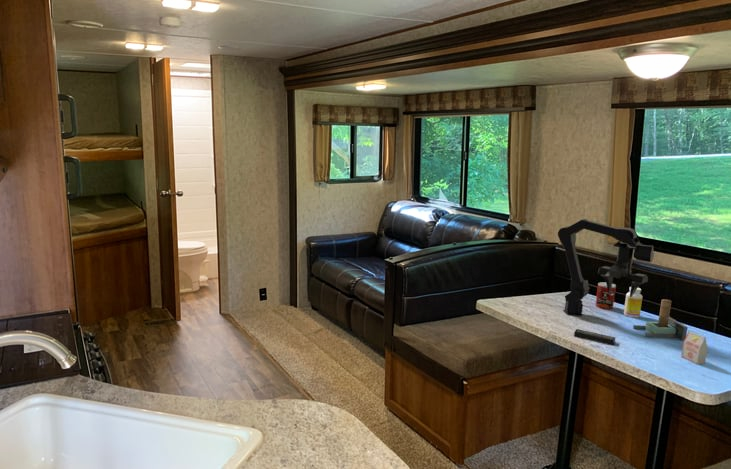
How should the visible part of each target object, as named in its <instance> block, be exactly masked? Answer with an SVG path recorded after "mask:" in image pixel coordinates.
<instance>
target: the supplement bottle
mask: <svg viewBox="0 0 731 469" xmlns="http://www.w3.org/2000/svg"><path fill="white" fill-rule="evenodd" d="M630 291H631V286H629V291H628V292H627V293H626V294H625V301H624V307H623V315H624V316H626V317H628V318H633V319H634V318H635V319H638V318H640V316H641V309H642V302H643V295H642V294H641V292H642V289H641V288H640V287H638V288H637V289H636V291H635V293H634V294H633V296H632V297H630Z"/></svg>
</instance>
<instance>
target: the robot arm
mask: <svg viewBox="0 0 731 469" xmlns="http://www.w3.org/2000/svg"><path fill="white" fill-rule="evenodd" d="M583 230H586V231H590V232H593V233H597V234H598V233H599V234H601V235H606V236H608V237H612V238H613V239H615V240H616V241H617V242H616V243H614V244H613V246H614V247H615V248H618V250H617V251H618V252H617V258H616V260H615V261H614V264H613V265H611V266H606V265H604V266H600V267H599V268H598V272H597V274H598V275H600V277H601V278H603V279H604V281H605V282H606V284H607V288H608V292H610V291H611V288H612V284H613V281H614V278H615V279H621V278H622V277H623V278H626V279H631V282H630V283H631V286H630V287H631V291H629V292H630V297H632V296H633V294H634V293H635V291H636V289H637V288H640V285H642V284H644V283H648V281H649V277H648V275H647V274H643V273H635V274H633V270H632V266H633V265H632V264H634V260H633V258H634V259H635V260H636V261H639V262H645V263H653V259H654V257H655V256H654V255H655V252H654V245H646V244H642V243H641V242H640V240H639V238H638V237H637V235H638V234H637V232H636V230H635V229H634V228H631V227H622V226H621V227H618V226H617V227H616V226H611V225H608V224H603V223H601V222H596V221H594V220H593V221H592V220H588V219H587V218H582V219H580V220H579V221H577V222H575V223H573V224H571V225H568V226H565V227H562V228H559V229H558V231H557V236H558V239H559V241H560V243H561V245H562V246H563V249H564V252H565V256H566V259H567V260H566V261H567V264H568V268H569V275H570V277H571V278H570V279H571V281H570V292H569V293H568V294H566V295H565V296H564V298H565V304H564V305H565V306H564V309H563V310H562V311H563V312H564V313H565V314H566V315H568V316H583V309H584V308H583V306H584V304H583V299H584V297H586V296H588V294H589V291H590V289H591V288H590V286H589V281H588V279H586V280H585V279H584V277H583V275H582V270H581V266H580V262H579V258H578V254H577V250H576V243H577V242H576V241H577V236H576V234H577V233H579V232H581V231H583Z"/></svg>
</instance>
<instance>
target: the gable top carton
mask: <svg viewBox="0 0 731 469" xmlns="http://www.w3.org/2000/svg"><path fill="white" fill-rule="evenodd" d="M706 338H707V337H706V336H703V335H701V334H698V333H696V332H694V331H691V330H687V334H686V338H685V340H684V341H682V342H683V343H682V348H681V354H680V355H681V358H683V359H685V360H687V361H688V362H691V363H693V364H694V365H705V364H706V359H707V353H708V344H707V340H706Z"/></svg>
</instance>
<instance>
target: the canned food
mask: <svg viewBox="0 0 731 469" xmlns="http://www.w3.org/2000/svg"><path fill="white" fill-rule="evenodd" d="M616 289H617V285H616V284H615V283H612V288H611V291H610V292H608V288H607V284H606V281H605V282H603V281H602V282H601V281H600V282H598V283H597V290H596V297H595V298H596V299H595V307H596V308H598V309H603V310H612V309H613V308H614V304H615V295H616Z"/></svg>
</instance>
